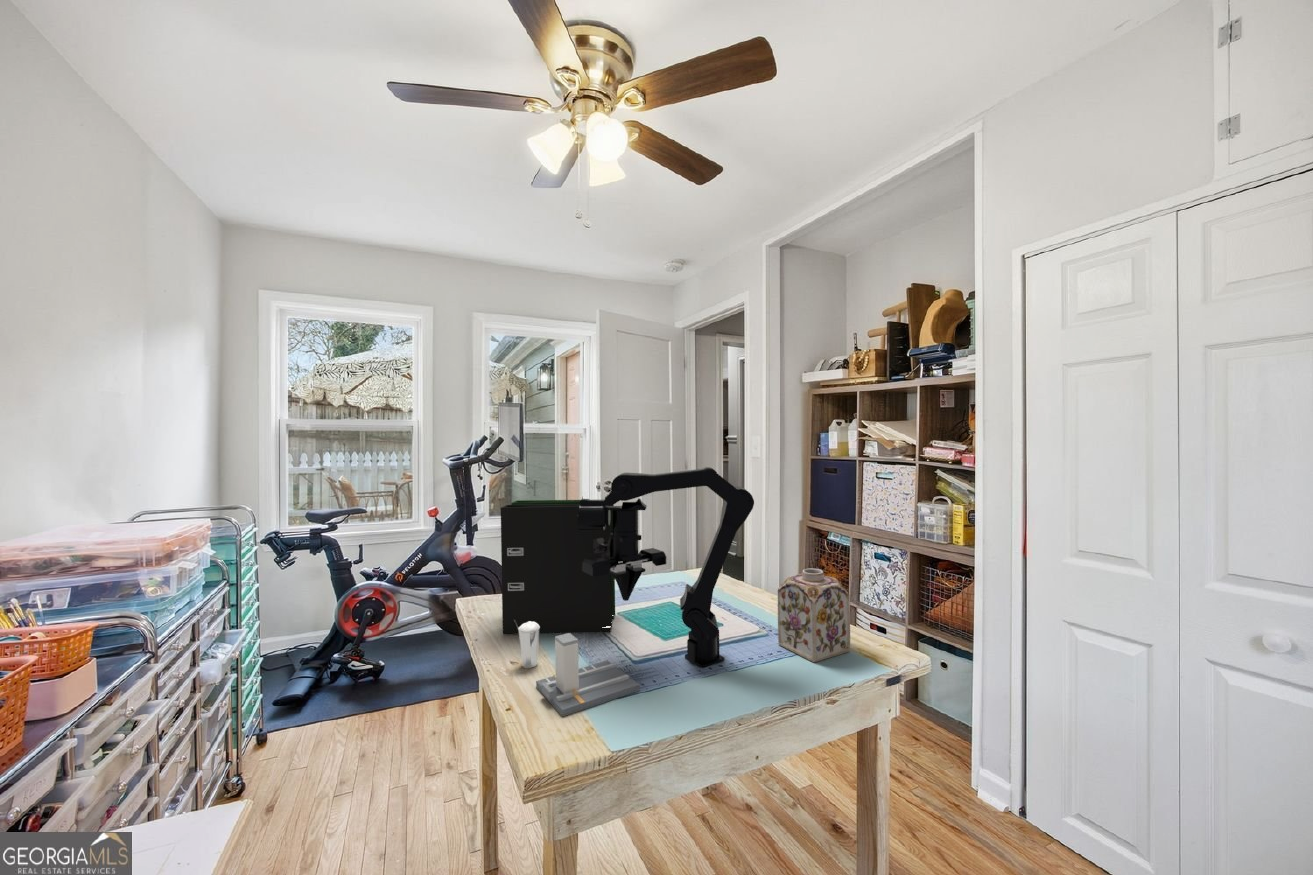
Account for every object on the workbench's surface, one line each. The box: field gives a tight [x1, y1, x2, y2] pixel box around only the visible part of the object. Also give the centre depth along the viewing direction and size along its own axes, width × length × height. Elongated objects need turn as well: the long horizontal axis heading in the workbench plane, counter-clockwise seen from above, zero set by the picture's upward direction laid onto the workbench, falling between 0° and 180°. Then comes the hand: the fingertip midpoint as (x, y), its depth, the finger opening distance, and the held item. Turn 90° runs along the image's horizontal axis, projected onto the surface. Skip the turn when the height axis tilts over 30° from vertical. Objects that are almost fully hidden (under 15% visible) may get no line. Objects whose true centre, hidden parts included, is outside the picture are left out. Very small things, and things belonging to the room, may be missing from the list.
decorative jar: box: [777, 568, 851, 663], centre depth 117 cm, size 12×12×18 cm
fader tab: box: [554, 633, 580, 694], centre depth 98 cm, size 3×4×10 cm
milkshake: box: [515, 621, 540, 669], centre depth 111 cm, size 4×5×10 cm
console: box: [535, 660, 640, 717], centre depth 100 cm, size 17×13×3 cm
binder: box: [500, 499, 616, 636], centre depth 135 cm, size 27×15×32 cm, turn 89°
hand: (625, 600), depth 113 cm, fingers closed
